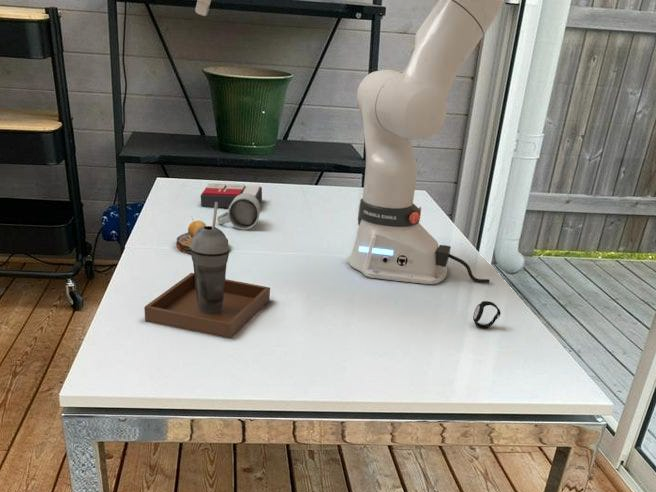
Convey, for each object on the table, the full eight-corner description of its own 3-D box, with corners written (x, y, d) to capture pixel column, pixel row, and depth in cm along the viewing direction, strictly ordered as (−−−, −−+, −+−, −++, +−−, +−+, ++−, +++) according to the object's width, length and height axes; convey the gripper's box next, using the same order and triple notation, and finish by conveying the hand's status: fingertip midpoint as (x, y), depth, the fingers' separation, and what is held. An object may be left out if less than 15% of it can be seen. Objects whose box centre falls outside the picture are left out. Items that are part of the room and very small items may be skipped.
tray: (269, 300, 152) (270, 287, 151) (231, 338, 137) (231, 324, 135) (191, 285, 156) (191, 272, 154) (145, 321, 140) (144, 306, 138)
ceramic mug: (260, 221, 195) (261, 190, 191) (258, 231, 189) (259, 199, 184) (219, 219, 195) (218, 187, 191) (215, 228, 188) (215, 196, 184)
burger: (233, 255, 173) (234, 221, 169) (182, 257, 169) (181, 223, 165) (221, 238, 182) (221, 206, 178) (171, 239, 179) (170, 207, 174)
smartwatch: (473, 321, 152) (478, 297, 149) (499, 327, 150) (504, 303, 147) (468, 328, 149) (473, 303, 146) (493, 334, 147) (499, 309, 144)
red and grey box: (207, 181, 209) (262, 184, 209) (208, 198, 212) (262, 200, 211) (200, 192, 200) (256, 194, 200) (201, 208, 203) (257, 211, 202)
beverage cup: (191, 301, 149) (189, 195, 137) (229, 302, 149) (230, 197, 138) (189, 315, 143) (187, 206, 131) (229, 317, 143) (230, 208, 132)
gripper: (241, -78, 118) (217, 21, 124) (239, -65, 136) (219, 21, 142) (201, -95, 117) (179, 6, 123) (205, -79, 134) (185, 9, 140)
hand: (201, 14), depth 133 cm, fingers open, 8 cm apart
